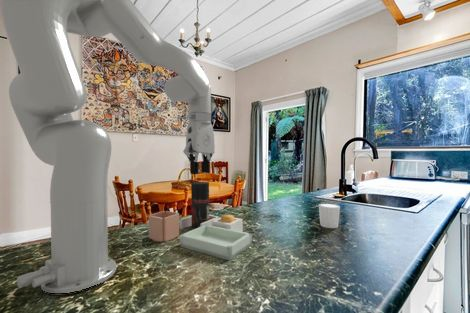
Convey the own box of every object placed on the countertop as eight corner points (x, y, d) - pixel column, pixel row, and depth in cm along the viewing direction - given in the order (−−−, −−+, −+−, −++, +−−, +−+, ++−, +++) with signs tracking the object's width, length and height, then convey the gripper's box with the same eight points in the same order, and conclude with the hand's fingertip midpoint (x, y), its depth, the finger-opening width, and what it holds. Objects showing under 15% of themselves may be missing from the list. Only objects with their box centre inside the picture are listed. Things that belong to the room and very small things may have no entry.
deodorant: (208, 229, 75) (207, 184, 75) (189, 229, 75) (189, 184, 75) (210, 224, 81) (210, 181, 81) (193, 224, 81) (193, 181, 81)
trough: (230, 260, 53) (229, 247, 53) (180, 246, 62) (180, 235, 62) (251, 244, 63) (251, 233, 63) (205, 234, 71) (205, 224, 71)
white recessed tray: (228, 239, 66) (228, 225, 66) (180, 228, 77) (179, 216, 77) (244, 230, 75) (244, 217, 75) (198, 221, 85) (198, 210, 85)
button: (229, 233, 70) (229, 218, 70) (218, 230, 72) (218, 216, 72) (236, 229, 73) (236, 215, 73) (225, 227, 75) (225, 214, 75)
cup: (163, 243, 64) (162, 219, 64) (146, 238, 68) (146, 215, 67) (181, 235, 70) (181, 213, 70) (165, 231, 73) (165, 210, 73)
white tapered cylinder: (336, 222, 82) (336, 203, 82) (343, 229, 75) (343, 207, 75) (316, 222, 83) (316, 203, 83) (321, 228, 76) (321, 207, 76)
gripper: (190, 115, 68) (191, 176, 69) (223, 121, 83) (223, 172, 83) (173, 117, 72) (173, 175, 73) (207, 123, 87) (207, 171, 87)
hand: (200, 172), depth 78 cm, fingers open, 4 cm apart
